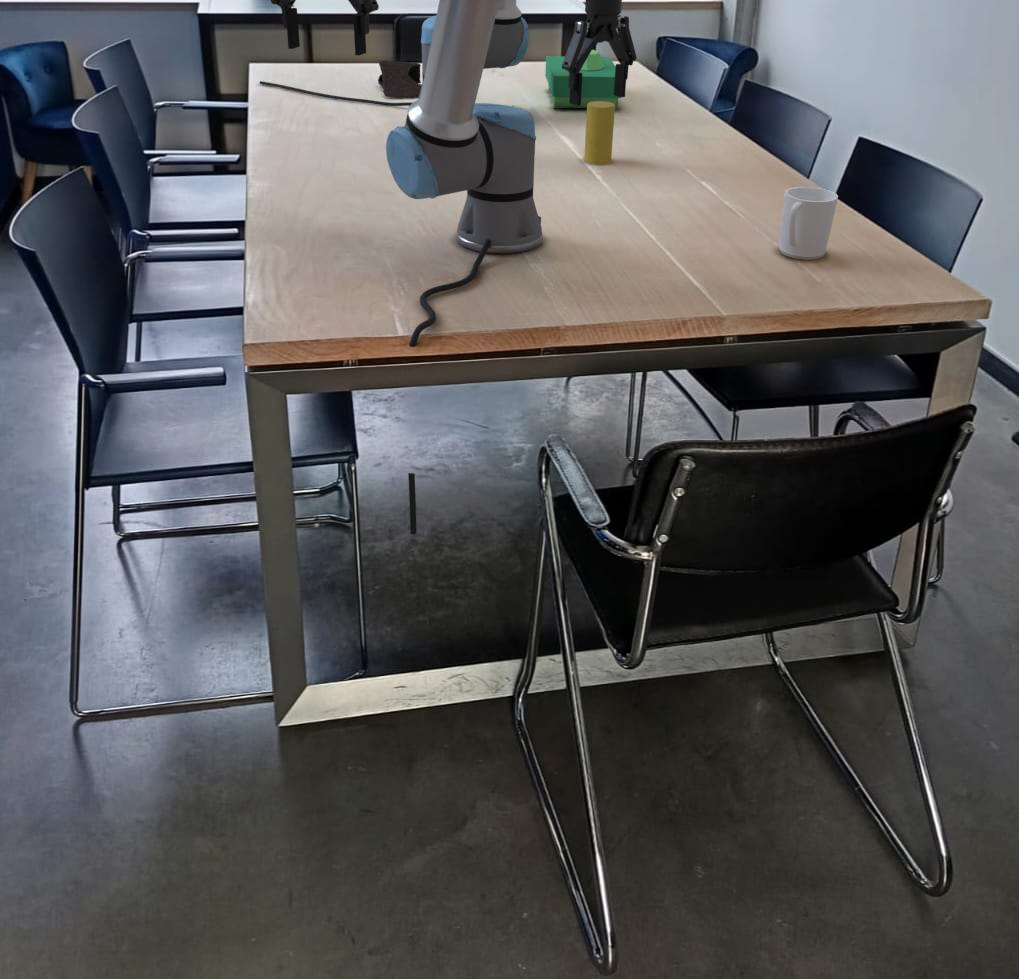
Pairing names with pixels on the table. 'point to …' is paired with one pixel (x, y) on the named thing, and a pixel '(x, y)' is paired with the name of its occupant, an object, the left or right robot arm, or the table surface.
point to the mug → (806, 222)
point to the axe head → (400, 79)
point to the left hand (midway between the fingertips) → (597, 100)
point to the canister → (599, 132)
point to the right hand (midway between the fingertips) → (327, 51)
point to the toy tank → (594, 81)
